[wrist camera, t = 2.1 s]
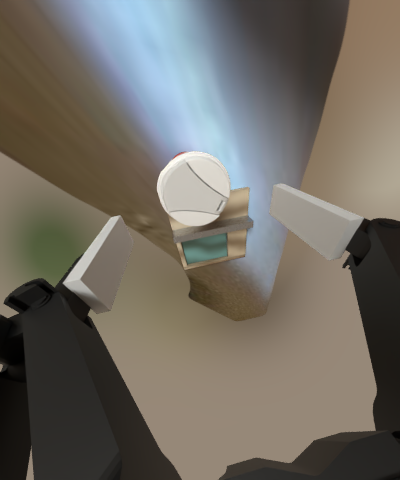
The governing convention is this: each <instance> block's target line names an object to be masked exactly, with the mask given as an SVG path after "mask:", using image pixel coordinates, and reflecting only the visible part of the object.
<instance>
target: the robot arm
mask: <svg viewBox="0 0 400 480" xmlns="http://www.w3.org/2000/svg"><path fill="white" fill-rule="evenodd" d="M269 214H270V215H271V216H273V217H274V218H275V219H276V220H278V221H279V222H280V223H282V224H283V225H284V226H285V227H287V228H288V229H289V230H290V231H292V232H293V233H294V234H296V235H297V236H298V237H300V238H301V239H302V240H303V241H305V242H306V243H307V244H308V245H310V246H311V247H312V248H314V249H315V250H316V251H317V252H319V253H320V254H321V255H322V256H324V257H325V258H326V259H328V260H333V259H338V258H341V256H342V255H343V253H344V251H345V250H347V251H348V252H350V255H349V257H348V258H347V260H346V262H345V263H344V264H343V268H345V267H346V266H347V265H350V267H349V269H350V270H351V274H352V278H353V283H354V287H355V292H356V296H357V300H358V305H359V310H360V314H361V318H362V323H363V327H364V332H365V336H366V341H367V345H368V349H369V354H370V358H371V363H372V367H373V372H374V376H375V381H376V385H377V395H376V398H375V400H374V403H373V416H374V423H375V428H376V431H365V432H344V433H338V434H335V435H331V436H328V437H325V438H321V439H318V440H314V441H313V442H312V443H311V444H310V445H309V446H308V447H307V448H306V449H305V450H304V451H303V452H302V453H301V454H300V455H299V456H298V457H297V458H296V459H295V460H294V461H293V462H292V463H284V462H278V461H272V460H266V459H261V458H253V459H250V460H246V461H243V462H240V463H236V464H233V465H229V466H227V470H226V473H225V474H224V475H223V476H222V477H220V478H219V480H400V221H396V220H392V219H386V218H377V219H373V220H371V221H370V220H367V219H365V218H364V217H361V216H359V215H356V214H354V213H352V212H350V211H347V210H345V209H342V208H340V207H337V206H335V205H333V204H330V203H328V202H326V201H323V200H321V199H318V198H316V197H314V196H311V195H309V194H306V193H304V192H302V191H299V190H297V189H295V188H292V187H290V186H287V185H285V184H283V183H282V184H277V185H274V187H273V193H272V200H271V206H270V213H269ZM133 244H134V241H133V239H132V237H131V235H130V233H129V231H128V229H127V227H126V225H125V223H124V221H123V219H122V217H121V215H120V216H115V217H111V218H110V220H109V221H108V222H107V224H106V225H105V226H104V228H103V229H102V231H101V232H100V233H99V234H98V236H97V237H96V239H95V240H94V241H93V243H92V244H91V245H90V247H89V248H88V249H87V251H86V252H85V253H84V254H82V255H81V256H80V257H79V258H77V259H76V261H75V262H74V263H73V265H72V267H70V268H69V270H68V272H66V274H65V275H64V276H63V278H62V279H61V280H60V281H59V283H58V284H57V285H56V287H55V288H54V287H53V286H52V285H50V284H49V283H48V282H47V281H46V280H44V279H42V278H41V279H40V278H38V279H35V280H32V281H30V282H27V283H25V284H23V285H22V286H20V287H18V288H17V289H15V290H14V291H13V292H12V293H10V294H9V296H8V297H7V298H6V299H5V301H4V304H5V305H7V306H9V307H10V308H12V309H14V310H16V311H17V312H19V314H17V315H14V316H12V317H10V318H6V317H4V316H2V315H0V364H2V365H3V368H2V370H1V372H0V480H26V476H27V470H28V463H29V457H30V451H31V445H32V459H33V472H34V480H182V479H181V478H180V476H179V474H178V473H177V471H176V469H175V467H174V466H173V465H172V463H171V462H170V461H169V460H168V459H167V458H166V457H165V456H164V454H163V453H162V452H161V450H160V448H159V447H158V445H157V443H156V441H155V439H154V437H153V435H152V433H151V432H150V430H149V428H148V426H147V424H146V422H145V421H144V418H143V416H142V414H141V413H140V411H139V409H138V407H137V405H136V403H135V401H134V399H133V397H132V396H131V393H130V392H129V390H128V388H127V386H126V384H125V382H124V380H123V378H122V376H121V374H120V372H119V371H118V369H117V367H116V365H115V363H114V361H113V359H112V357H111V355H110V354H109V352H108V350H107V348H106V346H105V344H104V342H103V340H102V338H101V337H100V334H99V332H98V331H97V329H96V327H95V325H94V323H93V321H92V319H91V318H90V317H89V316H88V313H89V311H90V308H91V309H92V310H93V311H94V312H95V313H96V314H99V313H103V312H107V311H110V310H111V308H112V305H113V302H114V299H115V296H116V293H117V291H118V288H119V285H120V282H121V279H122V276H123V273H124V270H125V267H126V264H127V262H128V259H129V256H130V253H131V250H132V247H133Z"/></svg>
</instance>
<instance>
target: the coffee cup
mask: <svg viewBox="0 0 400 480" xmlns="http://www.w3.org/2000/svg"><path fill="white" fill-rule="evenodd" d="M157 192H158V195H159V198H160V201H161V204H162V206H163V208H164V209H165V211H166V212H167V213H168V214H169V215H170V216H171V217H172V218H174V219H175V220H176V221H178V222H180V223H182V224H184V225H188V226H202V225H205V224H208V223H210V222H212V221H214V220H215V219H217V218H218V217H219V216H220V215H219V214H220V213H221V212H222V211H223V209H224V207H225V206H226V204H227V202H228V199H229V196H230V178H229V175H228V172H227V170H226V169H225V167H224V166H223V164H222V163H221V162H220V161H219V160H218V159H217V158H215V157H214V156H212V155H210V154H207V153H204V152H198V151H192V152H181V153H179V154H177V155H176V156H175V157H174V158H173V159H172V161H170V162H169V163H168V165H167V166H166V167H165V168H164V169H163V170H162V172H161V173H160V175H159V178H158V183H157Z"/></svg>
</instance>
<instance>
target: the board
mask: <svg viewBox="0 0 400 480" xmlns="http://www.w3.org/2000/svg"><path fill="white" fill-rule="evenodd" d="M248 202H249V187H245V188H240V189H234V190H230V196H229V199H228V202H227V204H226V206H225V207H224V209H223V211H222V212H221V213H220V214H219V215H220V216H219V217H218V218H217V219H215V220H214V221H212V222H216V221H221V220H226V219H231V218H236V217H241V216H246V215H248ZM168 216H169V220H170V223H171V226H172V230H177V229H182V228H187V227H192V226H188V225H184V224H182V223H180V222H178V221H176V220H175V219H174V218H172V217H171V216H170V215H169V214H168ZM210 223H211V222H210ZM246 233H247V229H242V230H237V231H232V232H227V245H226V233H223V234H218V235H213V236H208V237H203V238H199V239H194V240H189V241H184V242H182V245H183V248H182V245H181V242H179V243H177V246H178V250H179V253H180V256H181V260H182V263H183V266H184V270H186V269H190V268H195V267H200V266H204V265H209V264H213V263H218V262H223V261H227V260H232V259H236V258H241V257H245V249H246ZM183 249H184V252H183ZM184 253H185V256H184ZM224 256H225V257H224ZM185 257H186V259H185ZM219 257H220V258H219ZM214 258H215V259H214ZM210 259H211V260H210ZM186 260H187V263H186ZM205 260H206V261H205ZM200 261H202V262H200ZM196 262H197V263H196ZM191 263H192V264H191ZM187 264H188V265H187Z"/></svg>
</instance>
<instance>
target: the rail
mask: <svg viewBox="0 0 400 480" xmlns="http://www.w3.org/2000/svg"><path fill="white" fill-rule="evenodd" d="M251 227H253V220H252V219H251V218H250V217H249V216H248V215H246V216H241V217H236V218H231V219H226V220H221V221H216V222H211V223H208V224H205V225H202V226H192V227H187V228H182V229H177V230H173V240H174V243H179V242H184V241H189V240H194V239H199V238H203V237H208V236H213V235H218V234H223V233H227V232H232V231H237V230H242V229H247V228H251Z"/></svg>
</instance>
